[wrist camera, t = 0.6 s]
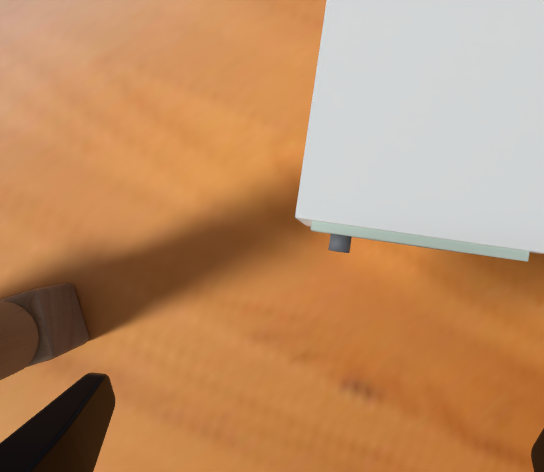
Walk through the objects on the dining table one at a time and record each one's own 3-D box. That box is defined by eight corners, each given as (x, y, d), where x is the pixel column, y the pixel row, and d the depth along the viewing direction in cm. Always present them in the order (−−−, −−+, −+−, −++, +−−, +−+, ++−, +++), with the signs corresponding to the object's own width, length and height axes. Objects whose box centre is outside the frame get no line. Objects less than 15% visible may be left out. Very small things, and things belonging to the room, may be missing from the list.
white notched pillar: (417, 257, 22) (556, 290, 10) (304, 240, 23) (290, 250, 10) (435, 136, 22) (602, 3, 9) (321, 122, 23) (329, -21, 10)
